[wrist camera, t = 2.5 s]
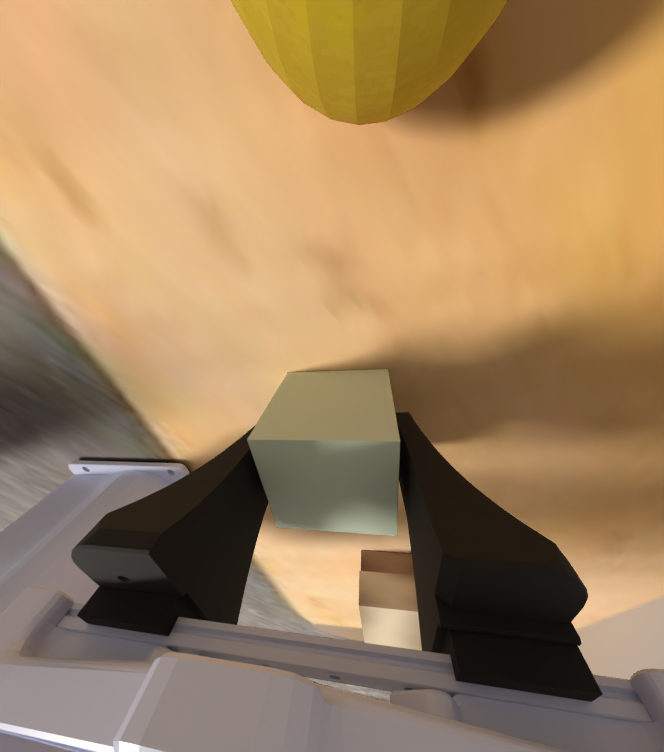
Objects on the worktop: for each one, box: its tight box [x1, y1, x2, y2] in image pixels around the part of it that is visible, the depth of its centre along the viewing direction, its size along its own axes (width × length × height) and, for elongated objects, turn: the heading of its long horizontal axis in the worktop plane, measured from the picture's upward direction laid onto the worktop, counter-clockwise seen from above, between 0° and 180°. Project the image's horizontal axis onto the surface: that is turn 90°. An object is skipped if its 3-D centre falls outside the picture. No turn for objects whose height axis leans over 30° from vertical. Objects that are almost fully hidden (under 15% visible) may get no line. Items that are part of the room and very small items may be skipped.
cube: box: [247, 369, 400, 536], centre depth 11 cm, size 5×5×5 cm
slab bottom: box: [361, 550, 414, 575], centre depth 20 cm, size 9×9×2 cm
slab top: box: [359, 571, 422, 651], centre depth 19 cm, size 9×9×2 cm
